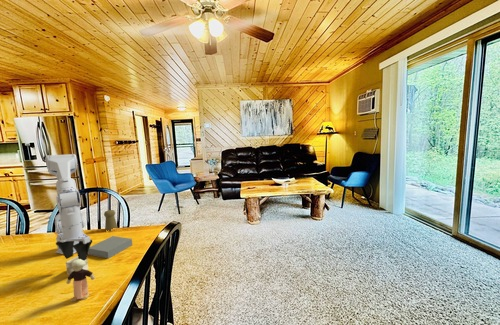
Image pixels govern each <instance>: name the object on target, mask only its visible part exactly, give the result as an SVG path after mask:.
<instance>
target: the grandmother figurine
mask: <svg viewBox="0 0 500 325" xmlns="http://www.w3.org/2000/svg"><path fill="white" fill-rule="evenodd" d="M85 264H86V263H85V261H84V260H81V259H78V260H74V261H73V262H72V267H73V270H74V271H73V272H72V273H71V274H70V275H68V277H67V280H66V282H65V283H66V285H69V284H71V281H72V280H73V282H72V285H73V297H72V298H71V299H70V301H71V302H76V301H78V300H81V301H83V300H86V299H88V298H89V295H90V293H89V284H88V280H87V277H88V278H90V279H91V281H93V280H95V278H96V277H95V276H94V273H93V271H90V270H89V269H88V270H85V269H82V268H83V266H84V265H85Z"/></svg>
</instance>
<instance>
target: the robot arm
mask: <svg viewBox="0 0 500 325" xmlns="http://www.w3.org/2000/svg"><path fill="white" fill-rule="evenodd" d="M45 162H46V168H47V170H48V171H47V172H48V173H49V175H53V176H55V177H56V179H57V181H56V183H55V186H56V188H55V189H56V193H57V194H56V196H55V199H56V206H57V210H58V212H59V213H58V214H57V215H55V217H54V225H55V227H54V228H55V233H56V234H57V235H56V239H55V240H56V242H55V245H56V246H57V247H56V248H57V250H56V251H55V254H61V255H63V256H64V258H65V259H67V260H68V259H69V258H70V259H71V257H73V256H74V254H77V256H78V258H79V259H81V260H86V259H87V260H88V250H89V247H91V246H92V243H93V239H91V237H90V235H89V236H88V235H87V234H86V233H84V230H83V228H84V227H85V219H84V215H83V214H84V213H83V212H82V210H81V204H82V201H81V200H82V198H81V194H80V191H79V189H78V187H77V184H76V180H75V179H74V178H73V177H72V176H71V175H72V174H73V173H76V172H77V169H78V159H77V155H76V154H75V153H71V154H70V153H68V154H67V153H66V154H54V155H53V154H52V155H50V154H47V155H46V156H45ZM71 177H72V178H71Z"/></svg>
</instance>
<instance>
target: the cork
mask: <svg viewBox="0 0 500 325" xmlns="http://www.w3.org/2000/svg"><path fill="white" fill-rule="evenodd" d="M103 215H104V217H105V219H104V220H105V222H104V223H105V224H104V225H105V227H104V231H105V230H107V231H108V230H109V231H110V232H112V231H111V229H113V228H119V227H118V224H117V221H116V216H115V215H116V211H115V210H114V209H109V210H106V211H104V213H103Z"/></svg>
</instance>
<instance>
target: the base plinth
mask: <svg viewBox="0 0 500 325" xmlns="http://www.w3.org/2000/svg"><path fill="white" fill-rule="evenodd" d="M131 246H133V239H132V238H129V237H128V238H127V237H124V236H123V237H122V236H116V235H115V236H114V235H112V236H109V237H108V238H105V239H104V240H102V241H99V242H98V243H95V244H93V245H90V247H89V250H88V255H89V256H93V257H99V258H104V259H111V258H112V257H114V256H116V255H117V254H119V253H121V252H122V251H124V250H126V249H128V248H130V247H131ZM88 255H87V256H88Z"/></svg>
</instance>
